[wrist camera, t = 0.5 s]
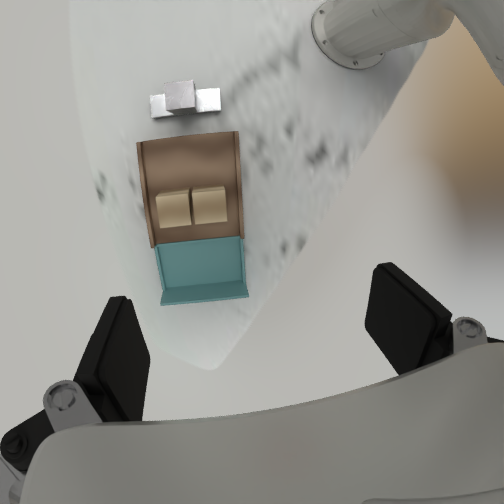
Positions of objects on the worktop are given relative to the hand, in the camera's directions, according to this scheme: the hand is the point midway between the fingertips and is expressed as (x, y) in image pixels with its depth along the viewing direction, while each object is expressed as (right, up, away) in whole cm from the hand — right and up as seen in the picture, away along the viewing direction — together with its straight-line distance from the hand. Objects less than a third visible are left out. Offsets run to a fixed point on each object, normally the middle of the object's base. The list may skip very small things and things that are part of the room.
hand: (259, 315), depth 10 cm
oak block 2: (-6, +9, +28) cm, 30 cm away
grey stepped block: (-9, +22, +24) cm, 34 cm away
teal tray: (-8, +1, +34) cm, 35 cm away
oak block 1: (-10, +9, +28) cm, 31 cm away
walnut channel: (-9, +11, +29) cm, 32 cm away
